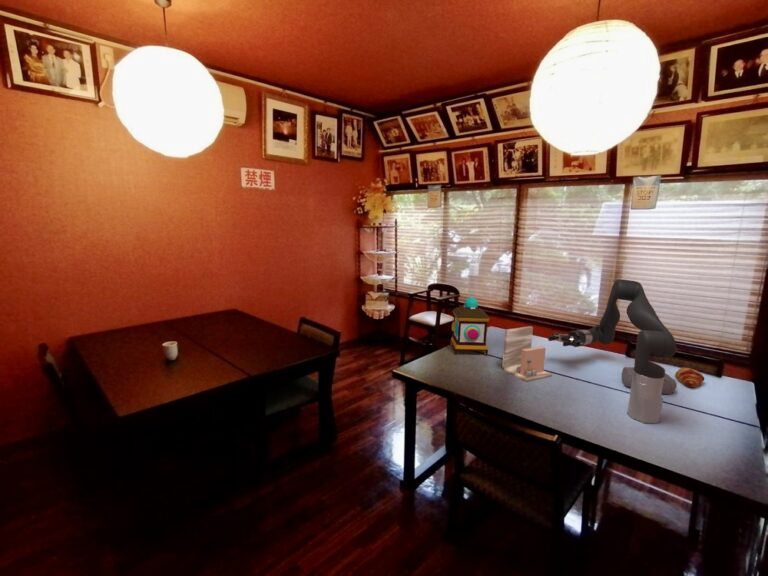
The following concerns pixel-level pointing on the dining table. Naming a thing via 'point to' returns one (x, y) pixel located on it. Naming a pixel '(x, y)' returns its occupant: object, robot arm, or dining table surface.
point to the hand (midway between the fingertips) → (556, 341)
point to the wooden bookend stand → (519, 353)
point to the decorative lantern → (469, 327)
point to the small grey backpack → (668, 383)
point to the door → (532, 359)
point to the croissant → (689, 377)
